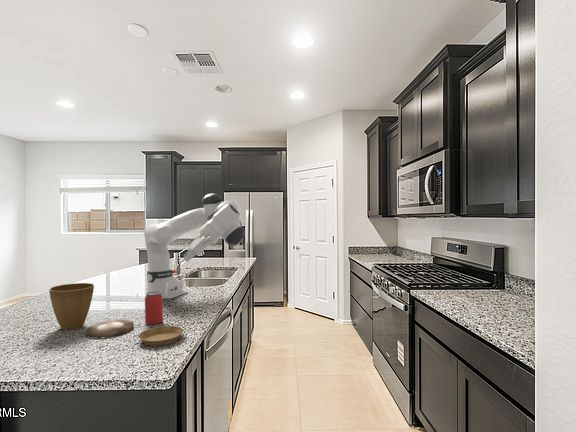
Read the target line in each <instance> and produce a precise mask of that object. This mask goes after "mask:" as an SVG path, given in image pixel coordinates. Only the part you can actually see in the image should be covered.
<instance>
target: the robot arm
mask: <svg viewBox="0 0 576 432" xmlns="http://www.w3.org/2000/svg"><path fill="white" fill-rule="evenodd" d="M201 204H202V206H203V207H198V208H195V209H194V208H193V209H192V210H188V211H186V212H183V213H181V214H178V215H176V216H174V217H172V218H170V219H168V220H166V221H165V222H164V221H163V222H161V223H152V224H150V225H148V226H147V227H146V228H145V229H144V231H143V232H144V233H143V234H144V240H145V241H144V242H145V248H146V253H147V273H146V279H147V285H146V286H147V287H146V293H145V297H146V294H147V293H149V292H161V295H162V300H164V299H165V300H166V299H167V300H168V299H169V300H170V299H173V298H177V297H179V296H182V295H185V294H187V293H189V292H188V290H187V289H184V284H183V282H182V281H181V280H180V279H178V278H177V277H175V276H174V275H173V274H176V273H177V270H176V269H171V258H170V257H171V255H170V252H169V249H168V244H170V243H172V242H174V241H175V240H177V239H179V238H180V237H182V236H184V235H186V234H189V233H190V232H192V231H195V230H198V229H199V230H198V232H199V233H198V234H197V236H196V237H195V238H194V240H193V241H192V242H191V243H190V245H189V249H188V250H187V251H186V253H185V254H184V255H183V258H184V261H185V262H186V263H187V262H189V261H190V260H191V259H193V258H194V257H195V256H197V257H199V255H201V254H202V253H203V252H204V251H205V249H206V248H207V247H208V246H210V245H211V244H212V245H215V244H216V243H217V242H218V241H220V240H221V239H223V240H224V242H225V243H226V244H227V245H228V246H237V245H239V244H240V243H241V242H242V241H243V239H244V238H245V235H246V234H245V233H246V232H245V229H244V228H243V225H242V222H241V219H240V215H241V214H240V212H239V211H238V206H237V204H236V203H235V202H233V200H224V201H223V197H221V196H220V194H219V193H218V194H217V193H207V194H206V195H205V196H204V197H202V198H201ZM145 297H144V298H145Z"/></svg>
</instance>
